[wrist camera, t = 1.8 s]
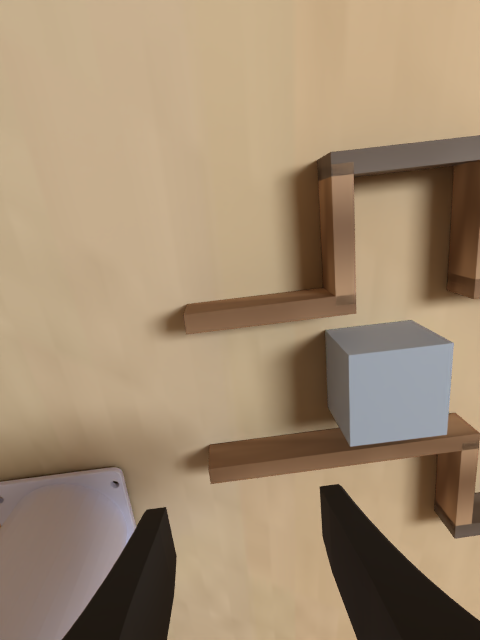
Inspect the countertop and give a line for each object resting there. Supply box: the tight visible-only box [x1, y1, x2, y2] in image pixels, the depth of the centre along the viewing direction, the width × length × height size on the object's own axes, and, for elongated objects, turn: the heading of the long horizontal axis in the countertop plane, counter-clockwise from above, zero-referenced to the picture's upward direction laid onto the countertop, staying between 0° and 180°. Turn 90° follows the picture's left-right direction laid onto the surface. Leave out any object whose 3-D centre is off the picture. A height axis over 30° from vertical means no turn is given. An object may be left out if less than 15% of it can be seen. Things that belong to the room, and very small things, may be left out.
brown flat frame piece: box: [183, 135, 480, 538], centre depth 20 cm, size 23×26×2 cm
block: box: [325, 320, 454, 447], centre depth 19 cm, size 5×5×4 cm
